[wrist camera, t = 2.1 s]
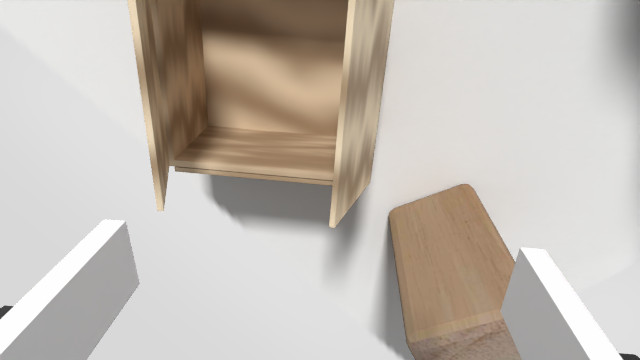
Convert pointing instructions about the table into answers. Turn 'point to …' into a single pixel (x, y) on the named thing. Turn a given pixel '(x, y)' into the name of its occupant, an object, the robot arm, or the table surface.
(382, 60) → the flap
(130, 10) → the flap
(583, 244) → the table surface
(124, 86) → the table surface
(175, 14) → the carton
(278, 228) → the table surface
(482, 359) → the wooden block
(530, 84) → the table surface
